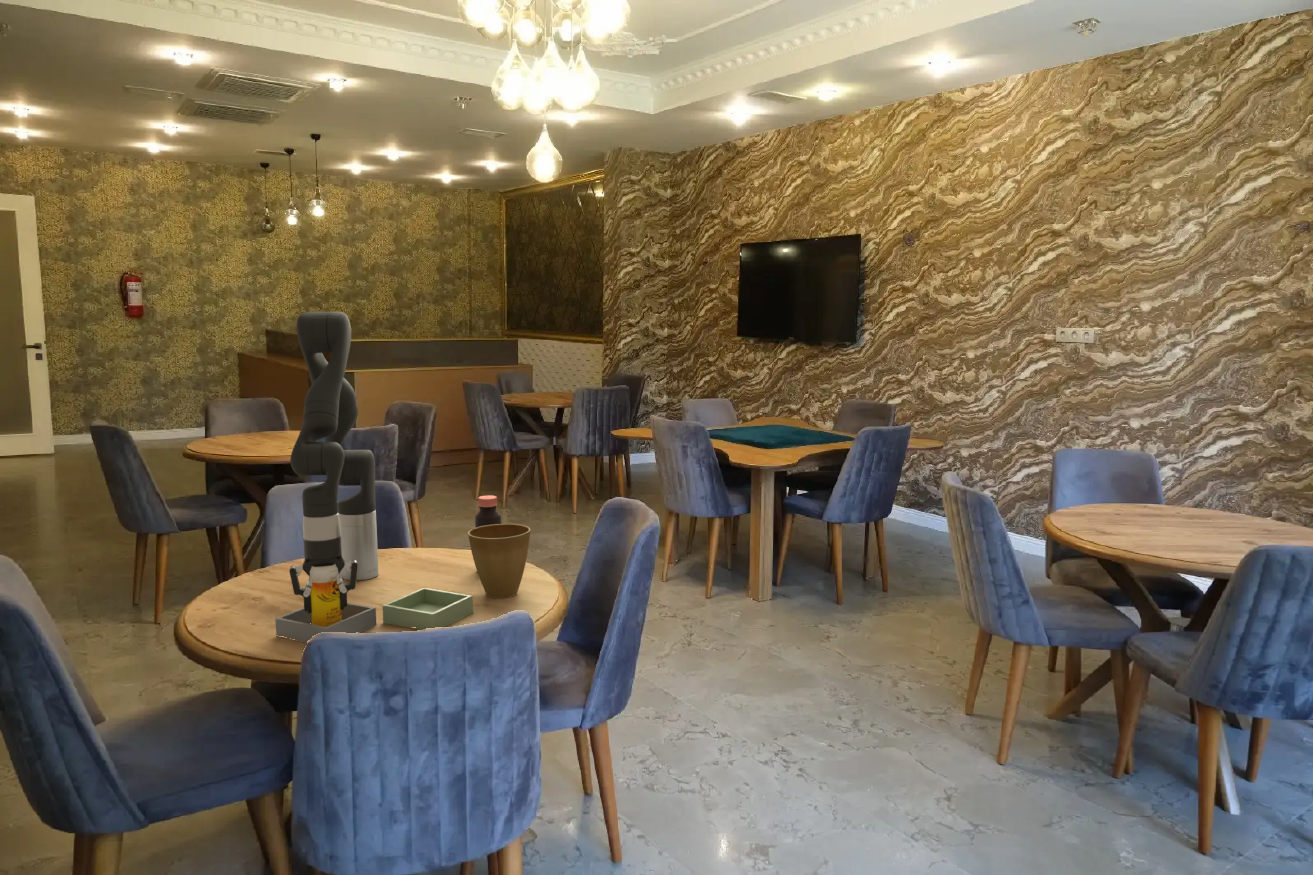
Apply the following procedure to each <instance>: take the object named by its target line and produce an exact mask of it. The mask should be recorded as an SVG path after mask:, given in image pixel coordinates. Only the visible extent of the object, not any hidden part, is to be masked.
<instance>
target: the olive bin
mask: <svg viewBox="0 0 1313 875" xmlns="http://www.w3.org/2000/svg"><path fill="white" fill-rule="evenodd" d="M473 601H474V600H473V595H472V594H471V595H470V594H466V593H465V594H464V593H459V592H454V591H453V592H451V591H446V590H439V589H434V588H427V587H423V588H420V589H418V590H415V591H413V592H410V593H408V594H407V595H403V596H401V597H399V598H396V599H393V600H392V601H390V602H387V603H385V604H382V623H383V624H389V625H392V626H393V625H394V626H398V627H404V628H409V627H416V628H413V629H414V630H419V629H426V628H435V627H443V628H445V627H447V626H450V625H452V624H453V623H455V622H457V621H459V620H461V619H463V618H465V617H466V616H469V615H471V614H473V613H474V602H473Z"/></svg>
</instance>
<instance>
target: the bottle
mask: <svg viewBox="0 0 1313 875" xmlns="http://www.w3.org/2000/svg"><path fill="white" fill-rule="evenodd" d="M477 504H478V508H479V511H478V512H477V513H476V515H475V517H474V523H475V524H474V525H475V528H477V527H481V526H486V525H494V524H502V515H501V513H500V512H499V511H498V510H497V507H498V497H497V496H496V495H490V494H489V495H480V496H479V497H477Z"/></svg>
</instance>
